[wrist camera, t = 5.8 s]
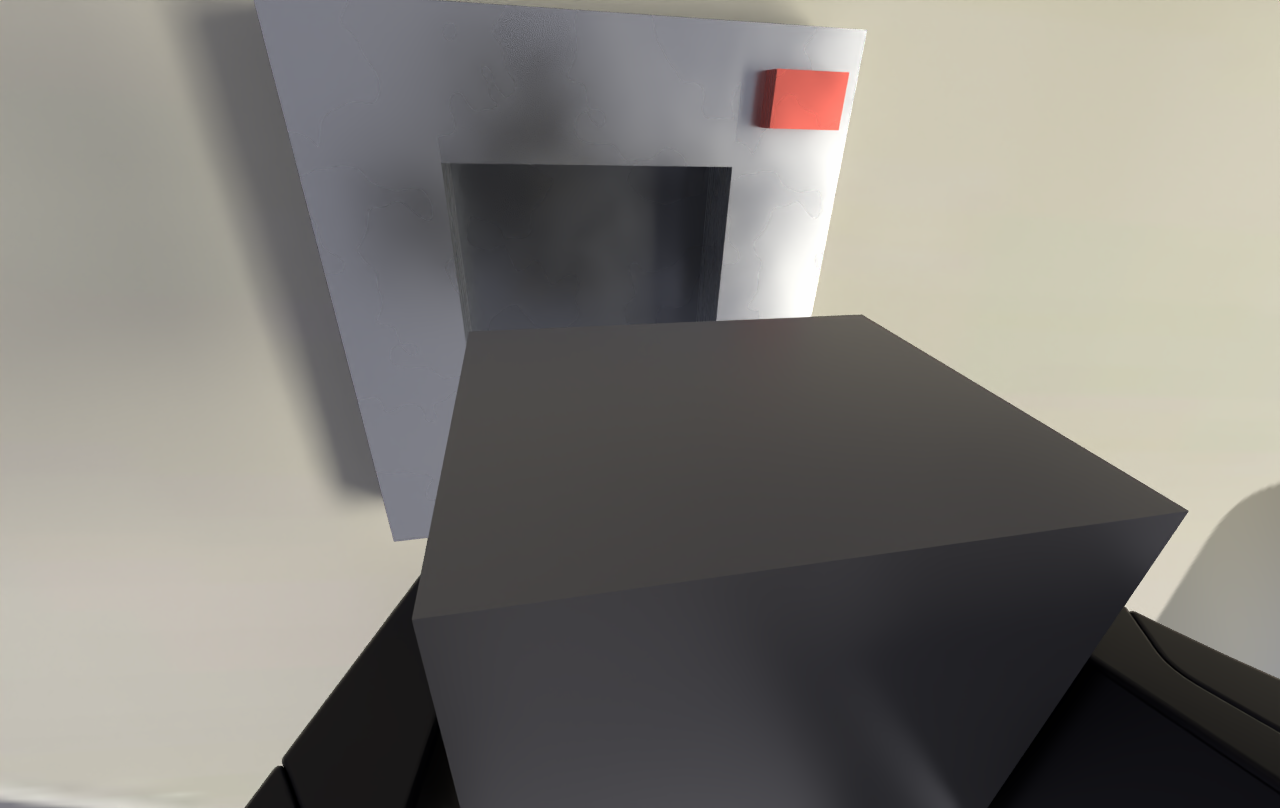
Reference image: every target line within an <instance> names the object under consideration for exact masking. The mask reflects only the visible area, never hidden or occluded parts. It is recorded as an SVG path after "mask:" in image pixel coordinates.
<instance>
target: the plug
mask: <svg viewBox="0 0 1280 808" xmlns="http://www.w3.org/2000/svg"><path fill="white" fill-rule="evenodd" d="M1187 513H1188V510H1186V509H1185V508H1183V507H1181V506H1180V505H1178V504H1176V503H1175V502H1173V501H1171V500H1170V499H1168V498H1166V497H1165V496H1163V495H1161V494H1160V493H1158V492H1156V491H1155V490H1153V489H1151V488H1150V487H1148V486H1146V485H1145V484H1143V483H1141V482H1140V481H1138V480H1136V479H1135V478H1133V477H1131V476H1130V475H1128V474H1126V473H1125V472H1123V471H1121V470H1120V469H1118V468H1116V467H1115V466H1113V465H1111V464H1110V463H1108V462H1106V461H1105V460H1103V459H1101V458H1100V457H1098V456H1096V455H1095V454H1093V453H1091V452H1090V451H1088V450H1086V449H1085V448H1083V447H1081V446H1080V445H1078V444H1076V443H1075V442H1073V441H1071V440H1070V439H1068V438H1066V437H1065V436H1063V435H1061V434H1060V433H1058V432H1056V431H1055V430H1053V429H1051V428H1050V427H1048V426H1046V425H1045V424H1043V423H1041V422H1040V421H1038V420H1036V419H1035V418H1033V417H1031V416H1030V415H1028V414H1026V413H1025V412H1023V411H1021V410H1020V409H1018V408H1016V407H1015V406H1013V405H1012V404H1010V403H1008V402H1007V401H1005V400H1003V399H1002V398H1000V397H998V396H997V395H995V394H993V393H992V392H990V391H988V390H987V389H985V388H983V387H982V386H980V385H978V384H977V383H975V382H973V381H972V380H970V379H968V378H967V377H965V376H963V375H962V374H960V373H958V372H957V371H955V370H953V369H952V368H950V367H948V366H947V365H945V364H943V363H942V362H940V361H938V360H937V359H935V358H933V357H932V356H930V355H928V354H927V353H925V352H923V351H922V350H920V349H918V348H917V347H915V346H913V345H912V344H910V343H908V342H907V341H905V340H903V339H902V338H900V337H898V336H897V335H895V334H893V333H892V332H890V331H888V330H887V329H885V328H883V327H882V326H880V325H878V324H877V323H875V322H873V321H872V320H870V319H868V318H867V317H865V316H863V315H841V316H818V317H795V318H772V319H749V320H726V321H703V322H680V323H657V324H633V325H610V326H587V327H564V328H541V329H518V330H495V331H472V332H469V334H468V339H467V344H466V349H465V354H464V359H463V364H462V369H461V375H460V380H459V385H458V390H457V395H456V400H455V405H454V410H453V415H452V420H451V425H450V430H449V435H448V440H447V445H446V450H445V455H444V460H443V465H442V470H441V475H440V480H439V485H438V490H437V495H436V500H435V505H434V510H433V515H432V520H431V526H430V531H429V536H428V541H427V546H426V551H425V556H424V561H423V566H422V571H421V576H420V581H419V586H418V591H417V596H416V601H415V606H414V611H413V616H412V623H413V627H414V631H415V634H416V638H417V642H418V646H419V650H420V654H421V658H422V661H423V665H424V669H425V673H426V677H427V681H428V685H429V689H430V692H431V696H432V700H433V704H434V708H435V712H436V716H437V720H438V723H439V727H440V731H441V735H442V739H443V743H444V747H445V750H446V754H447V758H448V762H449V766H450V770H451V774H452V778H453V781H454V785H455V789H456V793H457V797H458V801H459V805H460V808H988V806H989V805H990V803H991V802H992V800H993V799H994V797H995V796H996V794H997V793H998V791H999V790H1000V788H1001V787H1002V785H1003V784H1004V783H1005V781H1006V780H1007V778H1008V777H1009V775H1010V774H1011V772H1012V771H1013V769H1014V768H1015V766H1016V765H1017V763H1018V762H1019V760H1020V759H1021V757H1022V756H1023V755H1024V753H1025V752H1026V750H1027V749H1028V747H1029V746H1030V744H1031V743H1032V741H1033V740H1034V738H1035V737H1036V735H1037V734H1038V732H1039V731H1040V729H1041V728H1042V727H1043V725H1044V724H1045V722H1046V721H1047V719H1048V718H1049V716H1050V715H1051V713H1052V712H1053V710H1054V709H1055V707H1056V706H1057V704H1058V703H1059V701H1060V700H1061V699H1062V697H1063V696H1064V694H1065V693H1066V691H1067V690H1068V688H1069V687H1070V685H1071V684H1072V682H1073V681H1074V679H1075V678H1076V676H1077V675H1078V673H1079V672H1080V671H1081V669H1082V668H1083V666H1084V665H1085V663H1086V662H1087V660H1088V659H1089V657H1090V656H1091V654H1092V653H1093V651H1094V650H1095V648H1096V647H1097V645H1098V644H1099V642H1100V641H1101V640H1102V638H1103V637H1104V635H1105V634H1106V632H1107V631H1108V629H1109V628H1110V626H1111V625H1112V623H1113V622H1114V620H1115V619H1116V617H1117V616H1118V614H1119V613H1120V612H1121V610H1122V609H1123V607H1124V606H1125V604H1126V603H1127V601H1128V600H1129V598H1130V597H1131V595H1132V594H1133V592H1134V591H1135V589H1136V588H1137V586H1138V585H1139V584H1140V582H1141V581H1142V579H1143V578H1144V576H1145V575H1146V573H1147V572H1148V570H1149V569H1150V567H1151V566H1152V564H1153V563H1154V561H1155V560H1156V558H1157V557H1158V556H1159V554H1160V553H1161V551H1162V550H1163V548H1164V547H1165V545H1166V544H1167V542H1168V541H1169V539H1170V538H1171V536H1172V535H1173V533H1174V532H1175V530H1176V529H1177V528H1178V526H1179V525H1180V523H1181V522H1182V520H1183V519H1184V517H1185V516H1186V514H1187Z"/></svg>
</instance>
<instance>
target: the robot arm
mask: <svg viewBox="0 0 1280 808" xmlns="http://www.w3.org/2000/svg"><path fill="white" fill-rule="evenodd" d="M420 576H421V575H420ZM420 576H419V577H418V579H417V580H416V581H415V583H414V584H413V585H412V587H411V588H410V589H409V591H408V592H407V593H406V595H405V596H404V597H403V599H402V600H401V601H400V603H399V604H398V605H397V606H396V608H395V609H394V610H393V612H392V613H391V614H390V616H389V617H388V618H387V620H386V621H385V622H384V624H383V625H382V626H381V628H380V629H379V630H378V632H377V633H376V634H375V636H374V637H373V638H372V640H371V641H370V642H369V644H368V645H367V646H366V648H365V649H364V650H363V652H362V653H361V654H360V656H359V657H358V658H357V660H356V661H355V662H354V664H353V665H352V666H351V668H350V669H349V670H348V672H347V673H346V674H345V676H344V677H343V678H342V680H341V681H340V682H339V684H338V685H337V686H336V688H335V689H334V690H333V692H332V693H331V694H330V696H329V697H328V698H327V700H326V701H325V702H324V704H323V705H322V706H321V707H320V709H319V710H318V711H317V713H316V714H315V715H314V717H313V718H312V719H311V721H310V722H309V723H308V725H307V726H306V727H305V729H304V730H303V731H302V733H301V734H300V735H299V737H298V738H297V739H296V741H295V742H294V743H293V745H292V746H291V747H290V749H289V750H288V751H287V753H286V754H285V755H284V757H283V758H282V764H283V766H277V767H275V768H274V769H273V771H272V772H271V773H270V775H269V776H268V777H267V779H266V780H265V781H264V783H263V784H262V785H261V787H260V788H259V789H258V791H257V792H256V793H255V795H254V796H253V797H252V799H251V800H250V801H249V803H248V804H247V805H246V807H245V808H460V805H459V801H458V797H457V793H456V789H455V785H454V781H453V778H452V774H451V770H450V766H449V762H448V758H447V754H446V750H445V747H444V743H443V739H442V735H441V731H440V727H439V723H438V720H437V716H436V712H435V708H434V704H433V700H432V696H431V692H430V689H429V685H428V681H427V677H426V673H425V669H424V665H423V661H422V658H421V654H420V650H419V646H418V642H417V638H416V634H415V631H414V627H413V623H412V616H413V611H414V606H415V601H416V596H417V591H418V586H419V581H420ZM988 808H1280V679H1279V678H1276V677H1274V676H1271V675H1270V674H1267V673H1265V672H1263V671H1261V670H1258V669H1256V668H1254V667H1252V666H1249V665H1247V664H1245V663H1243V662H1240V661H1238V660H1236V659H1234V658H1231V657H1229V656H1227V655H1224V654H1223V653H1221V652H1218V651H1216V650H1214V649H1212V648H1210V647H1208V646H1206V645H1204V644H1202V643H1199V642H1197V641H1195V640H1193V639H1191V638H1189V637H1187V636H1185V635H1182V634H1180V633H1178V632H1176V631H1174V630H1172V629H1170V628H1168V627H1166V626H1164V625H1162V624H1160V623H1157V622H1155V621H1153V620H1151V619H1149V618H1147V617H1145V616H1143V615H1141V614H1139V613H1137V612H1134V611H1130V612H1129V611H1128V609H1127V608H1126V607H1123V609H1122V610H1121V612H1120V613H1119V614H1118V616H1117V617H1116V619H1115V620H1114V622H1113V623H1112V625H1111V626H1110V628H1109V629H1108V631H1107V632H1106V634H1105V635H1104V637H1103V638H1102V640H1101V641H1100V642H1099V644H1098V645H1097V647H1096V648H1095V650H1094V651H1093V653H1092V654H1091V656H1090V657H1089V659H1088V660H1087V662H1086V663H1085V665H1084V666H1083V668H1082V669H1081V671H1080V672H1079V673H1078V675H1077V676H1076V678H1075V679H1074V681H1073V682H1072V684H1071V685H1070V687H1069V688H1068V690H1067V691H1066V693H1065V694H1064V696H1063V697H1062V699H1061V700H1060V701H1059V703H1058V704H1057V706H1056V707H1055V709H1054V710H1053V712H1052V713H1051V715H1050V716H1049V718H1048V719H1047V721H1046V722H1045V724H1044V725H1043V727H1042V728H1041V729H1040V731H1039V732H1038V734H1037V735H1036V737H1035V738H1034V740H1033V741H1032V743H1031V744H1030V746H1029V747H1028V749H1027V750H1026V752H1025V753H1024V755H1023V756H1022V757H1021V759H1020V760H1019V762H1018V763H1017V765H1016V766H1015V768H1014V769H1013V771H1012V772H1011V774H1010V775H1009V777H1008V778H1007V780H1006V781H1005V783H1004V784H1003V785H1002V787H1001V788H1000V790H999V791H998V793H997V794H996V796H995V797H994V799H993V800H992V802H991V803H990V805H989V806H988Z"/></svg>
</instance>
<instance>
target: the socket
mask: <svg viewBox="0 0 1280 808" xmlns="http://www.w3.org/2000/svg"><path fill="white" fill-rule="evenodd" d="M254 3H255V7H256V11H257V15H258V19H259V23H260V27H261V30H262V34H263V38H264V42H265V46H266V50H267V54H268V57H269V61H270V65H271V69H272V73H273V77H274V81H275V85H276V88H277V92H278V96H279V100H280V104H281V108H282V112H283V115H284V119H285V123H286V127H287V131H288V135H289V139H290V142H291V146H292V150H293V154H294V158H295V162H296V166H297V169H298V173H299V177H300V181H301V185H302V189H303V193H304V196H305V200H306V204H307V208H308V212H309V216H310V220H311V223H312V227H313V231H314V235H315V239H316V243H317V247H318V250H319V254H320V258H321V262H322V266H323V270H324V274H325V277H326V281H327V285H328V289H329V293H330V297H331V301H332V304H333V308H334V312H335V316H336V320H337V324H338V328H339V331H340V335H341V339H342V343H343V347H344V351H345V355H346V358H347V362H348V366H349V370H350V374H351V378H352V382H353V385H354V389H355V393H356V397H357V401H358V405H359V409H360V412H361V416H362V420H363V424H364V428H365V432H366V436H367V439H368V443H369V447H370V451H371V455H372V459H373V463H374V466H375V470H376V474H377V478H378V482H379V486H380V490H381V493H382V497H383V501H384V505H385V509H386V513H387V517H388V520H389V524H390V528H391V532H392V536H393V540H394V542H395V541H403V540H412V539H421V538H428V536H429V531H430V526H431V520H432V515H433V510H434V505H435V500H436V495H437V490H438V485H439V480H440V475H441V470H442V465H443V460H444V455H445V450H446V445H447V440H448V435H449V430H450V425H451V420H452V415H453V410H454V405H455V400H456V395H457V390H458V385H459V380H460V375H461V369H462V364H463V359H464V354H465V349H466V344H467V339H468V334H469V332H472V331H495V330H518V329H541V328H564V327H587V326H610V325H633V324H657V323H680V322H703V321H726V320H749V319H772V318H795V317H811V315H812V310H813V305H814V300H815V295H816V290H817V285H818V279H819V274H820V269H821V264H822V259H823V254H824V249H825V244H826V239H827V233H828V228H829V223H830V218H831V213H832V208H833V203H834V198H835V192H836V187H837V182H838V177H839V172H840V167H841V162H842V157H843V151H844V146H845V141H846V136H847V131H848V126H849V121H850V116H851V111H852V105H853V100H854V95H855V90H856V85H857V80H858V75H859V70H860V64H861V59H862V54H863V49H864V44H865V39H866V34H867V30H861V29H847V28H832V27H818V26H803V25H788V24H774V23H759V22H745V21H730V20H716V19H701V18H687V17H672V16H658V15H643V14H629V13H614V12H600V11H585V10H571V9H556V8H542V7H527V6H513V5H498V4H484V3H469V2H455V1H440V0H254Z"/></svg>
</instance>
